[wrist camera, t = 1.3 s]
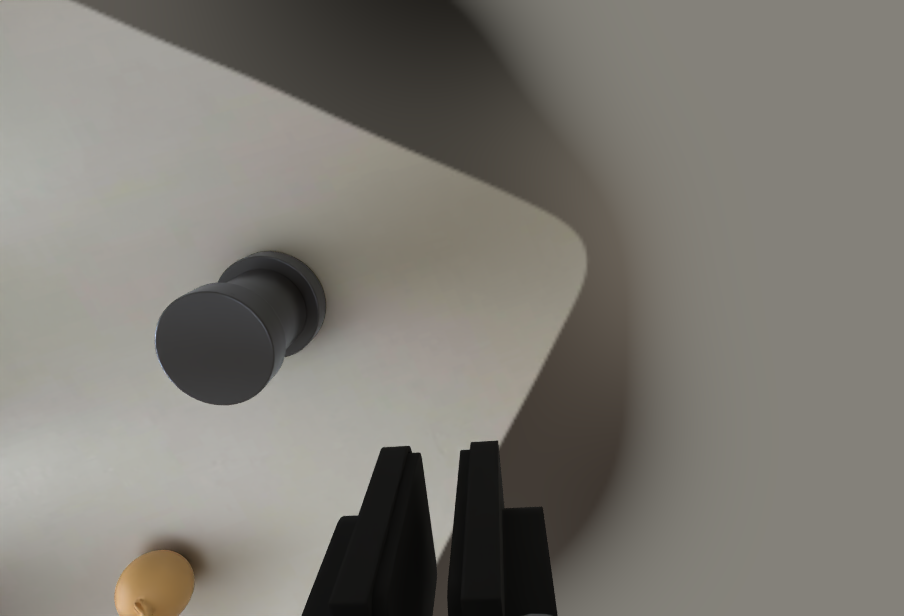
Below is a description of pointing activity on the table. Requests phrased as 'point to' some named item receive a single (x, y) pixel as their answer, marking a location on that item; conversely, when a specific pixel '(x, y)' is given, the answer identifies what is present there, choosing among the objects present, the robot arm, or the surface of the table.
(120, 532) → the table surface
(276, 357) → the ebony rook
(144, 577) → the figurine
